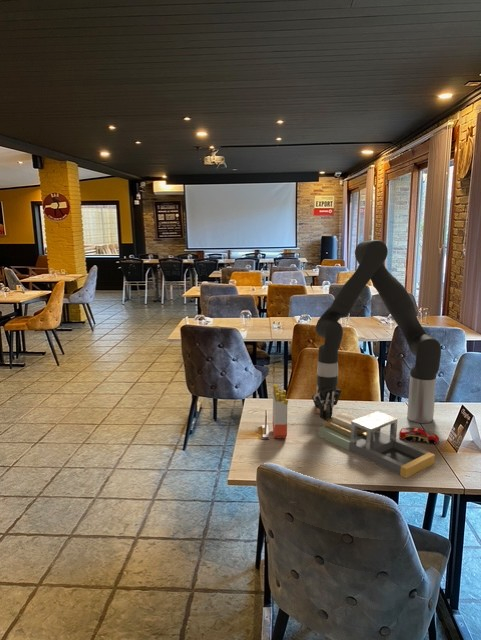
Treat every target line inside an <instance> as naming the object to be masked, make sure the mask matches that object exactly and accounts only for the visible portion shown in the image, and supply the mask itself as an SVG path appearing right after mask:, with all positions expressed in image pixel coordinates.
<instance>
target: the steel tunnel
mask: <svg viewBox="0 0 481 640" xmlns="http://www.w3.org/2000/svg"><path fill="white" fill-rule="evenodd" d="M357 418H358V417H357ZM398 419H399V418H397V417H394V416H392V415H389V414H387V413H383V412H382V411H379V410H376V411H375V412H373V413H369V414H367V415H366V414H365V415H363V416H361V417H359V418H358V419H355V420H353V421H351V438H350V442H352V443H356V442H357V429H358V427H360V428H362V429H365V430H367V440H366V449H367V450H369V451H371V450H373V436H374V432H375V433H377V434H378V433H380V432H381V429H383V428H384V427H387V426H388V425H389V426H390V429H389V436H390V439H391V440H396V439H397V432H398Z"/></svg>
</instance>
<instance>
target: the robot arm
mask: <svg viewBox="0 0 481 640" xmlns="http://www.w3.org/2000/svg"><path fill="white" fill-rule="evenodd" d="M388 251H389V250H388V246H387V245H386V243H385V242H384V241H383V240H379V239H371V240H365V241H361V242H359V243H358V244H357V245H356V247H355V249H354V256H355V260H356V261H357V264H358V266H357V268H356V270H355V271H354V272H353V274H352V275H351V276H350V278H349V279H348V280H347V281H346V282H345V283H344V284H343V285H342V287H341V288H340V289H339V291H338V293H336V296H335V297H334V299H333V301H332V303H331V305H330V306H329V307H328V308H327V309H326V310H325V312H324V313H323V314H322V315H321V316H320V317H319V319H318V320H317V322H316V325H315V331H316V332H315V333H316V334H317V335H318V336H319V337H322V338H323V339H324V343H323V344H320V346H319V347H318V357H317V366H316V367H317V369H316V370H317V371H316V386H317V385H318V391H317V390H316V392H317V394H315V395H314V394H312V396H311V399H312V401H313V403H314V404H313V405H314V406H315V409H316V408H318V409H320V414H319V417H320V419H322V420H323V419H326V406H327V404H328V403H330V417H333V408H334V406H336V405H338V403H339V399H340V395H342V390H341V389H339V388H337V387H338V385H339V361H338V360H339V350H340V346H341V343H342V339H343V336H344V334H343V333H344V329H343V327H342V324H341V323H340V322H339V321H340V319H343V318H347V317H348V315H350V313H351V311H352V309H353V307H354V306H355V304H356V302H357V301H358V298H359V297H360V296H361V293H362V292H363V291H364V289H365V287H366V286H367V284H368V283H369V281H370V282H372V285H373V286H374V288H375V290H376V292H377V294H378V295H379V297H380V298H381V299H380V300H381V301H382V302H383V305H384V306H385V307H386V309H387V311H388V313H389V314H390V315H391V317H392V318H393V320H394V322H395V323H396V325H397V326H398V328H399V329H400V330H401V333H402V335H403V336H404V339H405V340H406V343H407V346H408V348H409V350H410V351H411V353H412V355H414V356H415V364H414V366H412V367H411V368H410V373H409V375H410V376H409V388H408V399H407V400H408V402H407V412H406V414H407V416H406V417H407V419H408V420H409V421H410V422H413V423H419V424H429V423H432V422H433V419H434V414H435V403H436V402H435V401H436V395H435V391H436V381H437V374H438V372H439V370H440V365H441V364H440V363H441V356H442V346H441V344H440V342H439V340H437V339H436V338H434V337H433V336H431V335H429V334H428V333H427V332H426V330H425V329H424V327H423V326H422V325H421V323H420V320H419V319H418V316H417V311H416V307H415V304H414V301H413V300H412V298H411V295H410V294H409V292H408V290H407V288H406V287H405V286H404V285H403V284H402V283H401V282H400V281H399V280H398V279H397V278H396V277H395V276H393V275H392V273H390V272H389V270H388V269H387V268H386V266H385V264H384V262H385V261H386V259H387V257H388ZM323 400H324V401H323ZM323 404H324V405H323Z"/></svg>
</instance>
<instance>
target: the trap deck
mask: <svg viewBox="0 0 481 640" xmlns="http://www.w3.org/2000/svg"><path fill="white" fill-rule="evenodd" d="M318 436H319V437H320V438H322V439H324V440H326V441H328V442H330V443H332V444H334V445H336V446H338V447H341V448H343V449H345V450H347V451H349V452H351V453H353V454H356V455H357V456H359V457H360V458H364V459H365V458H366V460H367V459H368V461H369V460H370V461H369V462H371V461H372V463H373V462H374V464H376V465H378V466H380V467H382V468H384V469H386V470H388V471H390V472H393V473H394V474H396V475H398V476H401V477H402V476H403V477H402V478H404V477H405V478H404V479H407V478H409V477H411V476H413V475H415V474H417V473H420V471H422V470H425V469H426V468H428V467H431V466H432V465H434V464H435V457H436V455H435V454H434V453H431V452H430V451H427V450H425V449H422V448H420V447H417V446H415V445H412V444H410V443H409V442H407V441H406V442H405V441H403V440H402V439H399V438H396V440H391V439H390V434H386V433H384V432H382V431H380V433H378V434H377V433H375V432H374V438H373V450H371V451H369V450H367V449H366V440H367V438H365V437H363V436H361V435H360V436H358V437H357V442H356V443H352V442H350V437H348V436H346V435H343V434H341V433H339V432H337V431H335V430H332V429H330V428H328V427H326V426H324V425H323V426H321V427H318Z"/></svg>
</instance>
